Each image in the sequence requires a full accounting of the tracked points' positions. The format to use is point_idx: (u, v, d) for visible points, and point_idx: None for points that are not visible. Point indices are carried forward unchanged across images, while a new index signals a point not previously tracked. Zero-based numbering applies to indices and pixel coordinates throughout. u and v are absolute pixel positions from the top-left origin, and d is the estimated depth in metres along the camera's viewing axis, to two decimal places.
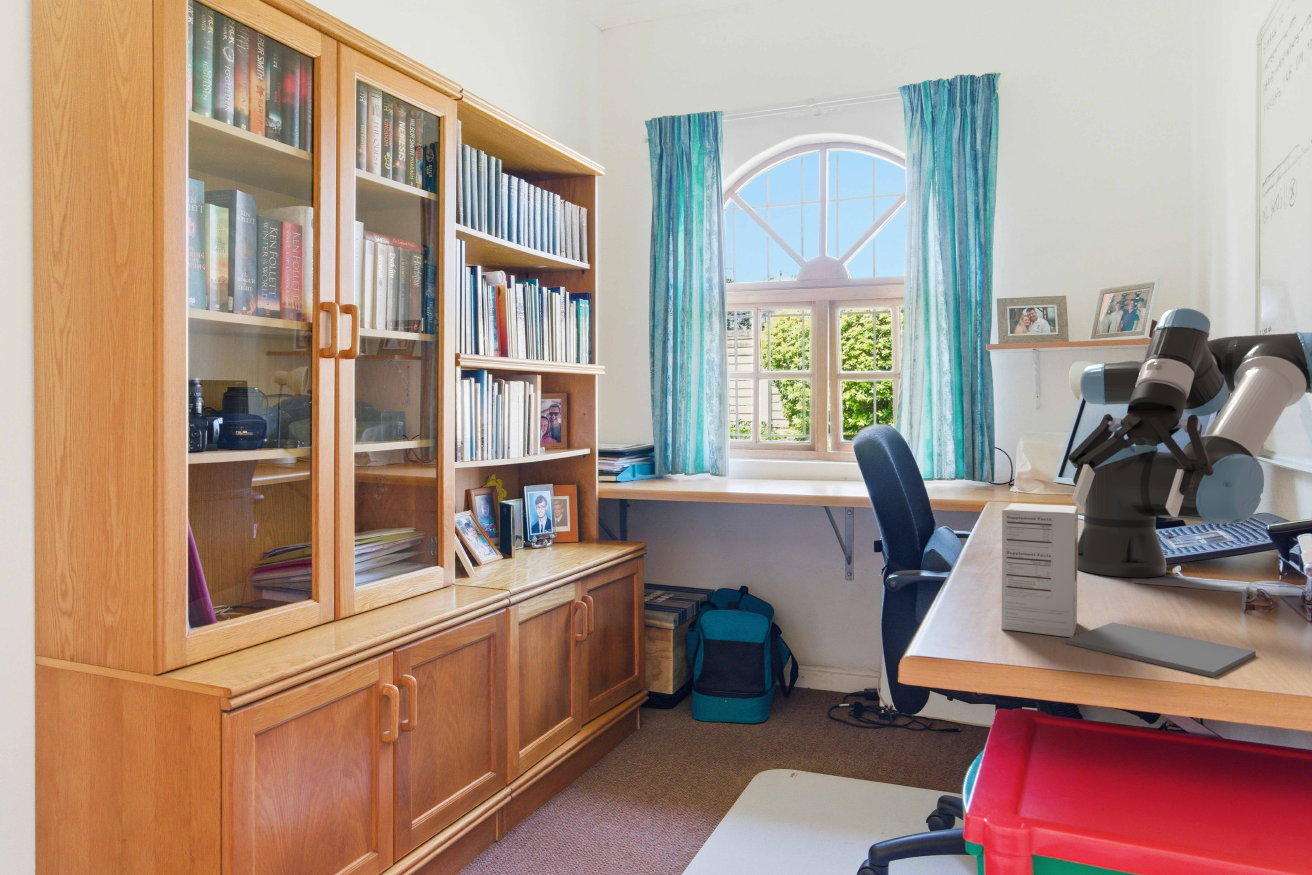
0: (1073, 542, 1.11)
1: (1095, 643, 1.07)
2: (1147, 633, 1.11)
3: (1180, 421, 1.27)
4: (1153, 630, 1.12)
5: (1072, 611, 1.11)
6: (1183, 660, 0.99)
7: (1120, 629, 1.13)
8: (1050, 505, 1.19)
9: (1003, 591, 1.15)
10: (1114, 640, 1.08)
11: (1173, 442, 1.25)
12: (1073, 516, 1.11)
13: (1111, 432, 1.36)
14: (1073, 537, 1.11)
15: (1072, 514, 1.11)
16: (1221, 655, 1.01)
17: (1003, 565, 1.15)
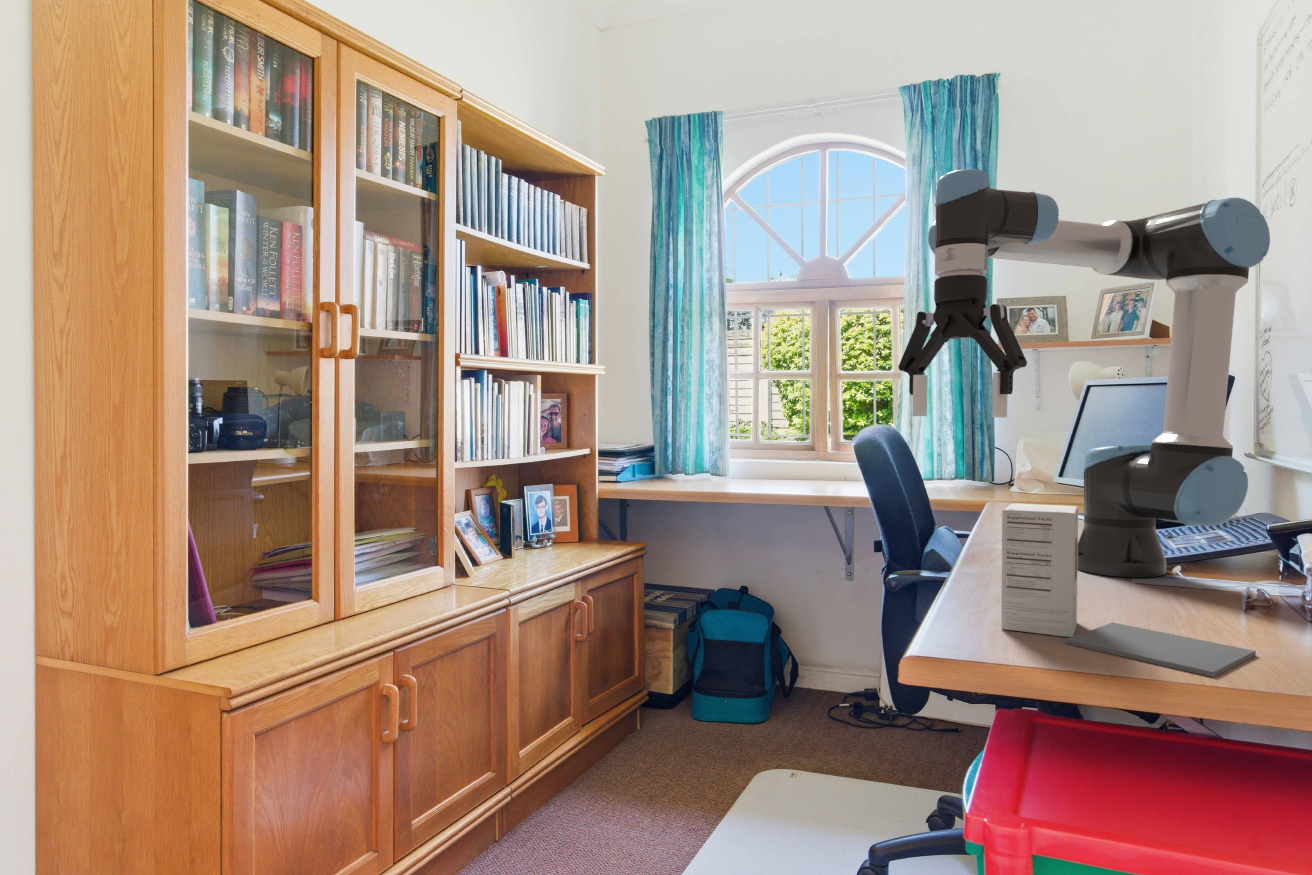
0: (1073, 542, 1.11)
1: (1095, 643, 1.07)
2: (1147, 633, 1.11)
3: (984, 310, 1.23)
4: (1153, 630, 1.12)
5: (1072, 611, 1.11)
6: (1183, 660, 0.99)
7: (1120, 629, 1.13)
8: (1050, 505, 1.19)
9: (1003, 591, 1.15)
10: (1114, 640, 1.08)
11: (983, 340, 1.22)
12: (1073, 516, 1.11)
13: (929, 326, 1.32)
14: (1073, 537, 1.11)
15: (1072, 514, 1.11)
16: (1221, 655, 1.01)
17: (1003, 565, 1.15)
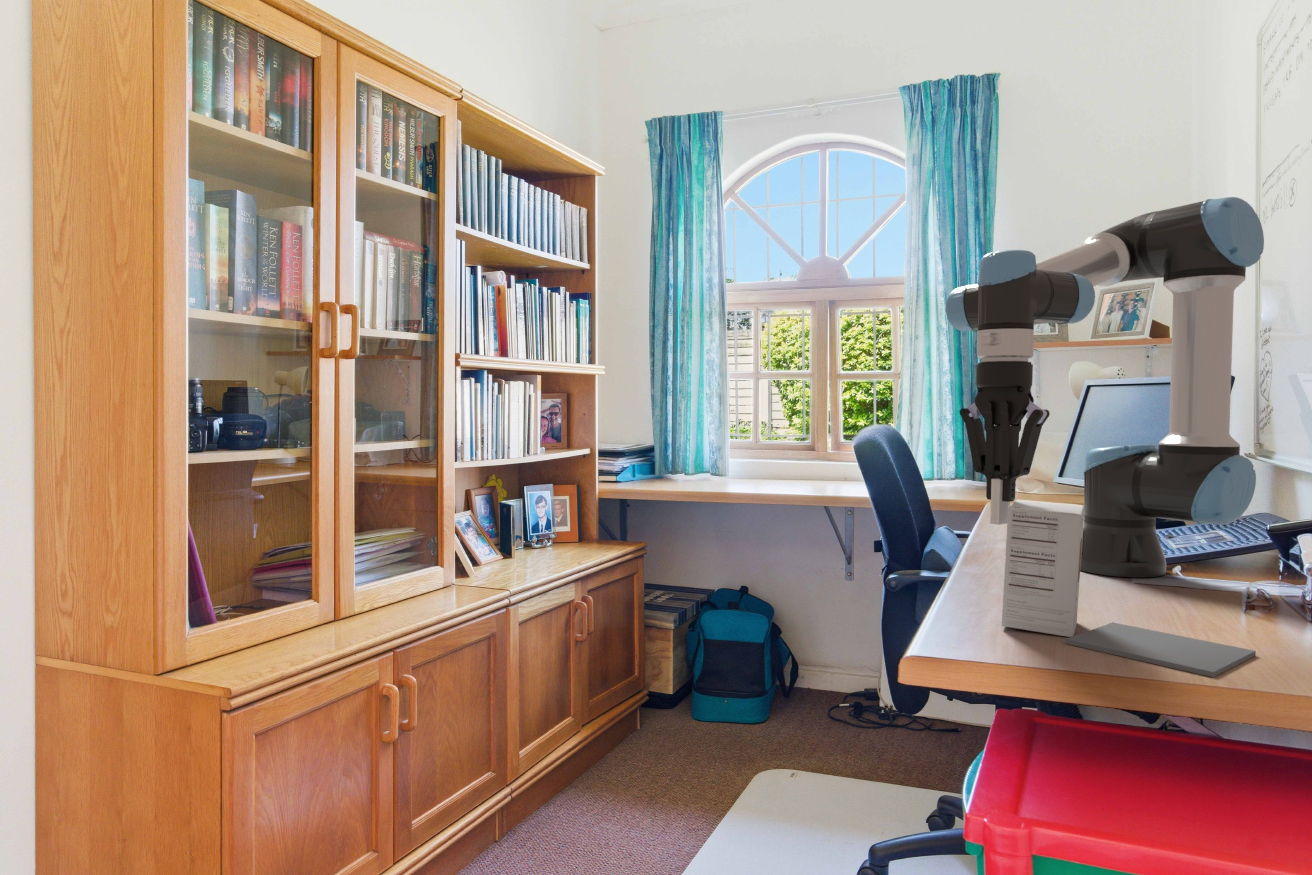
0: (1078, 543, 1.10)
1: (1095, 643, 1.07)
2: (1147, 633, 1.11)
3: (1029, 406, 1.17)
4: (1153, 630, 1.12)
5: (1073, 611, 1.11)
6: (1183, 660, 0.99)
7: (1120, 629, 1.13)
8: (1056, 503, 1.18)
9: (1005, 589, 1.15)
10: (1114, 640, 1.08)
11: (1007, 439, 1.19)
12: (1080, 517, 1.10)
13: (979, 419, 1.24)
14: (1078, 538, 1.10)
15: (1079, 515, 1.10)
16: (1221, 655, 1.01)
17: (1006, 563, 1.15)
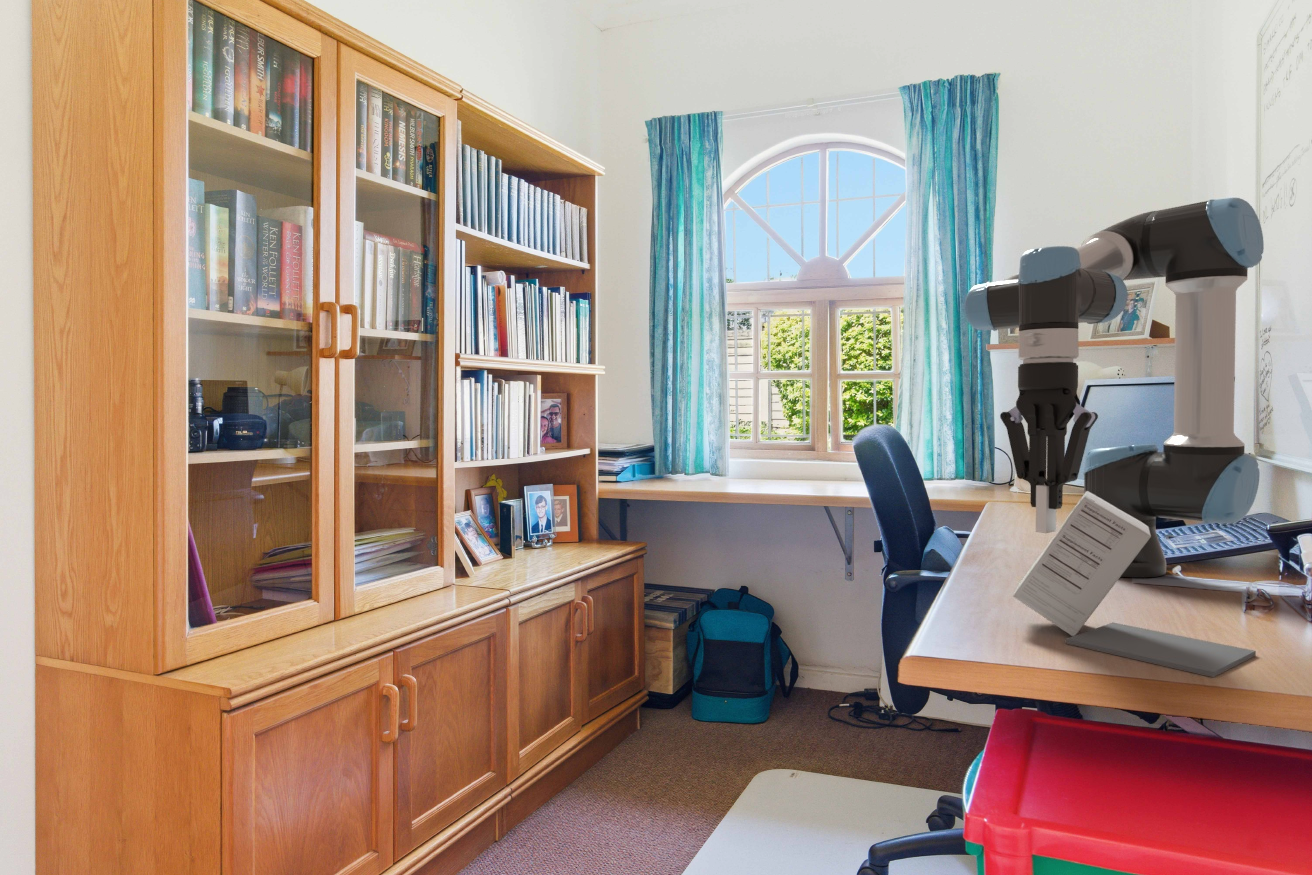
0: (1131, 559, 1.07)
1: (1095, 643, 1.07)
2: (1147, 633, 1.11)
3: (1075, 408, 1.12)
4: (1153, 630, 1.12)
5: (1088, 616, 1.10)
6: (1183, 660, 0.99)
7: (1120, 629, 1.13)
8: (1125, 513, 1.14)
9: (1036, 566, 1.13)
10: (1114, 640, 1.08)
11: (1053, 444, 1.13)
12: (1148, 538, 1.06)
13: (1020, 423, 1.19)
14: (1134, 555, 1.07)
15: (1148, 535, 1.06)
16: (1221, 655, 1.01)
17: (1051, 545, 1.12)
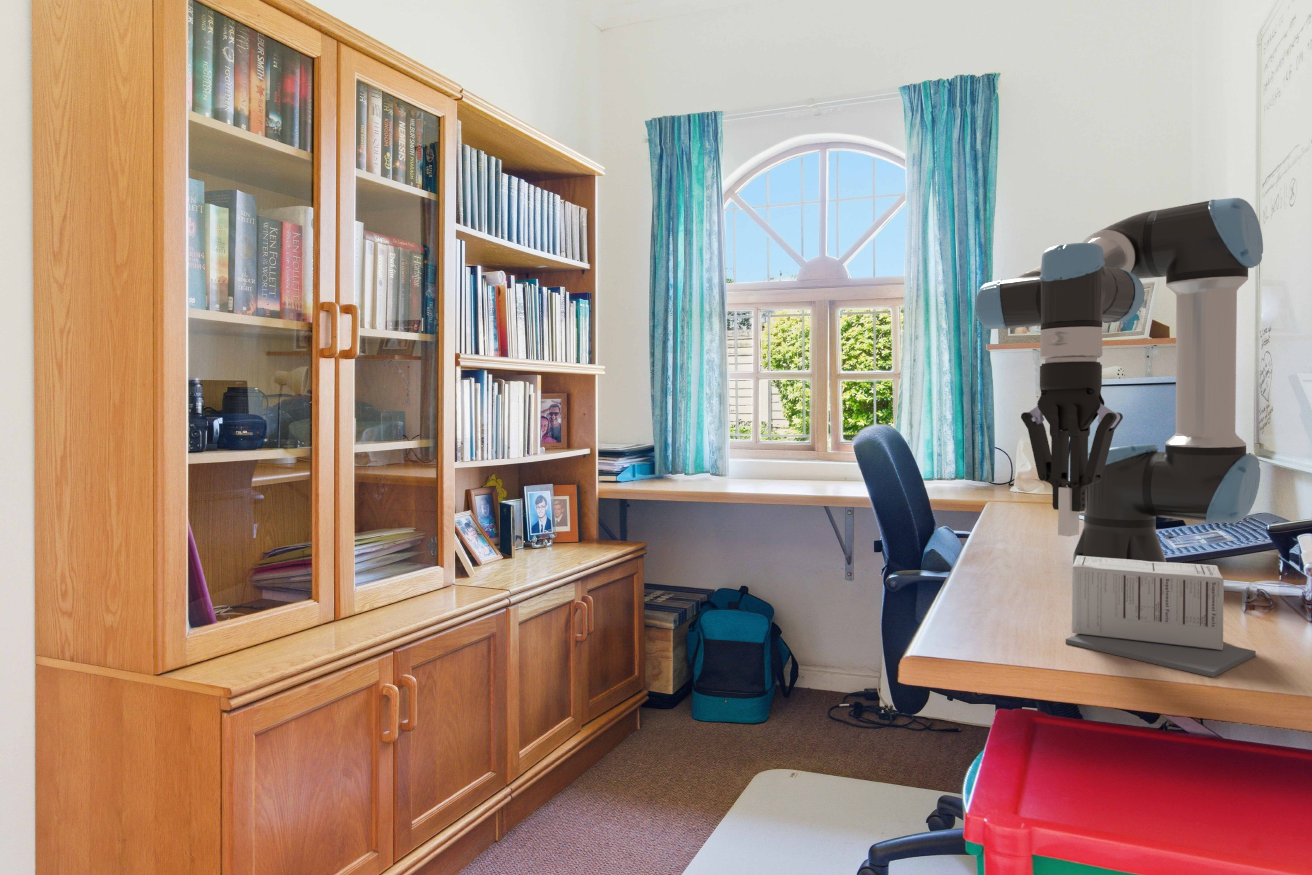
0: (1185, 644, 1.04)
1: (1095, 643, 1.07)
2: None
3: (1100, 409, 1.09)
4: None
5: (1101, 635, 1.09)
6: (1183, 660, 0.99)
7: None
8: None
9: (1118, 571, 1.08)
10: (1114, 640, 1.08)
11: (1077, 445, 1.11)
12: (1218, 648, 1.03)
13: (1041, 423, 1.17)
14: (1191, 645, 1.04)
15: (1220, 647, 1.03)
16: (1221, 655, 1.01)
17: (1150, 574, 1.06)
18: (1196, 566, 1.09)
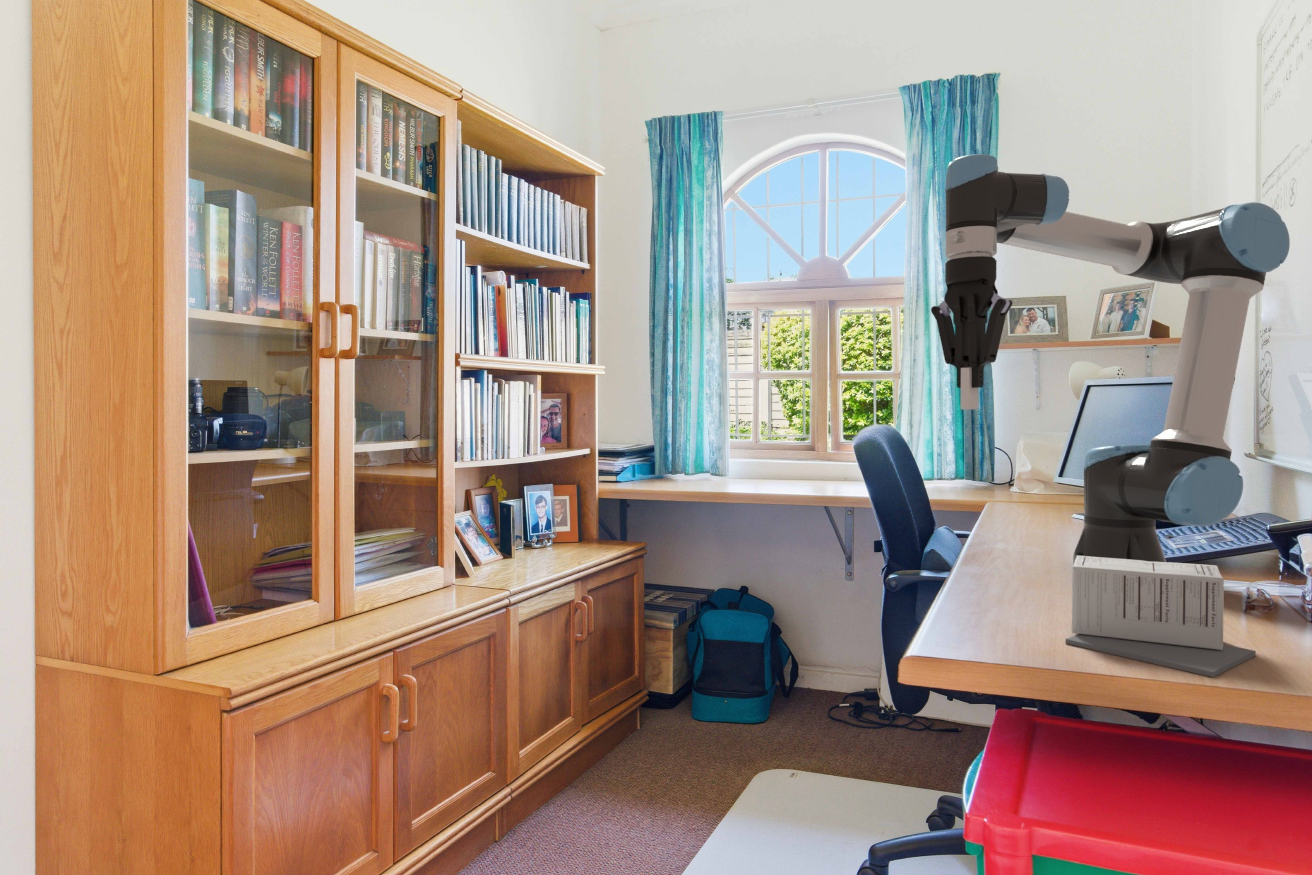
0: (1185, 645, 1.04)
1: (1095, 643, 1.07)
2: None
3: (993, 297, 1.27)
4: None
5: (1101, 635, 1.09)
6: (1183, 660, 0.99)
7: None
8: None
9: (1118, 571, 1.08)
10: (1114, 640, 1.08)
11: (975, 330, 1.29)
12: (1218, 648, 1.03)
13: (949, 316, 1.35)
14: (1191, 645, 1.04)
15: (1220, 647, 1.03)
16: (1221, 655, 1.01)
17: (1150, 574, 1.06)
18: (1196, 566, 1.09)
